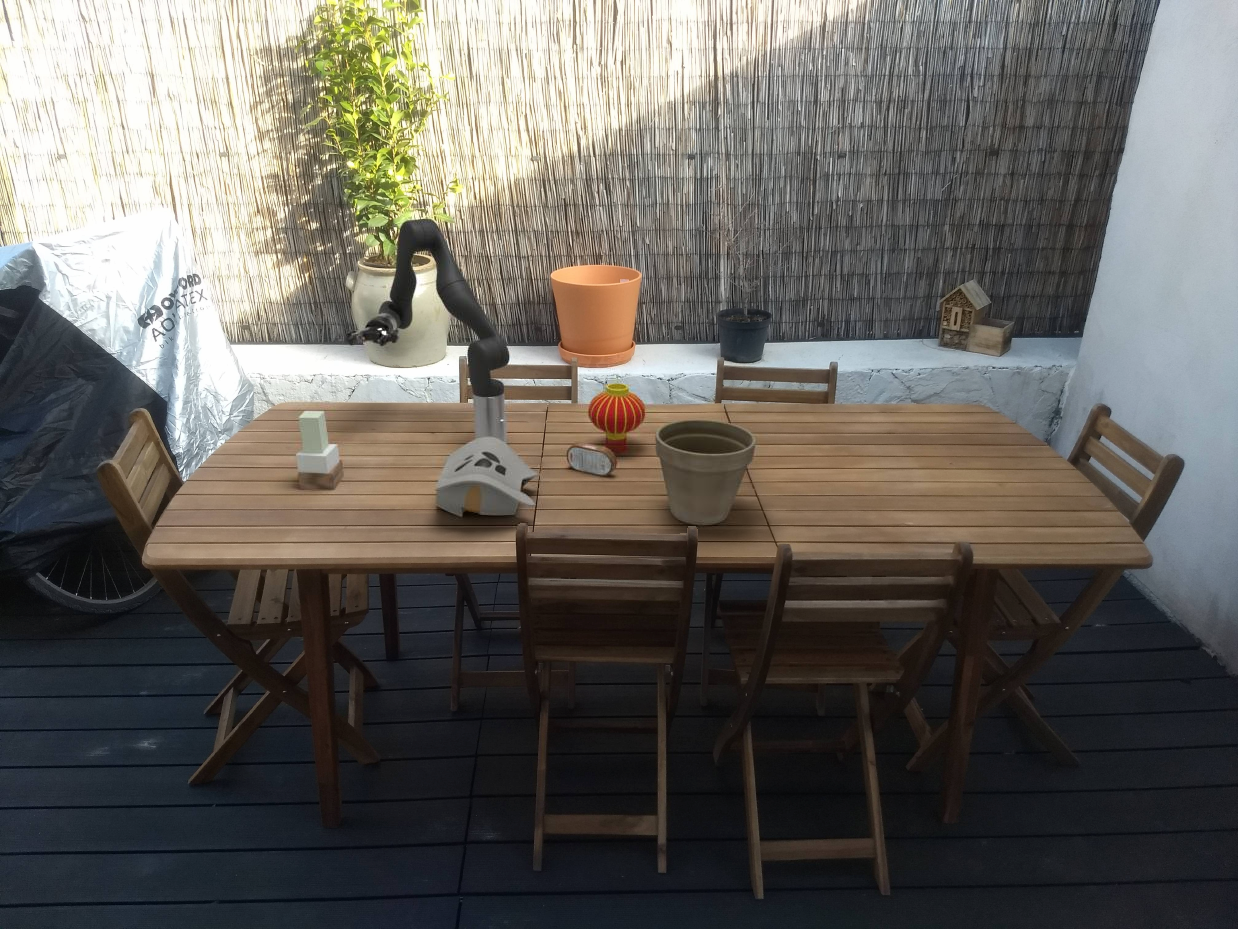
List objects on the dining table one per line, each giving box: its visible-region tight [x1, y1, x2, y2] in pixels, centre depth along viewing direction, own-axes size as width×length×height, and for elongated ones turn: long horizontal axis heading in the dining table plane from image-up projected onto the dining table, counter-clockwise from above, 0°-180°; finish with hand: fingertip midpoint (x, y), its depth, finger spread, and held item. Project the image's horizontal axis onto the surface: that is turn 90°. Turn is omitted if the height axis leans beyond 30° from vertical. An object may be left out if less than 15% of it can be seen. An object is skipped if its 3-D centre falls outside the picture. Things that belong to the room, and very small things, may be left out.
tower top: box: [295, 443, 340, 474], centre depth 214 cm, size 8×8×5 cm
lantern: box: [587, 353, 646, 454], centre depth 237 cm, size 17×17×30 cm
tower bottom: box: [297, 459, 345, 491], centre depth 216 cm, size 9×9×5 cm
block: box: [298, 410, 330, 453], centre depth 211 cm, size 5×5×10 cm
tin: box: [566, 441, 618, 477], centre depth 226 cm, size 15×3×8 cm, turn 65°
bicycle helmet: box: [434, 437, 541, 518], centre depth 205 cm, size 28×26×16 cm
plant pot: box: [654, 418, 757, 526], centre depth 202 cm, size 25×25×22 cm
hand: (365, 342), depth 228 cm, fingers open, 8 cm apart
